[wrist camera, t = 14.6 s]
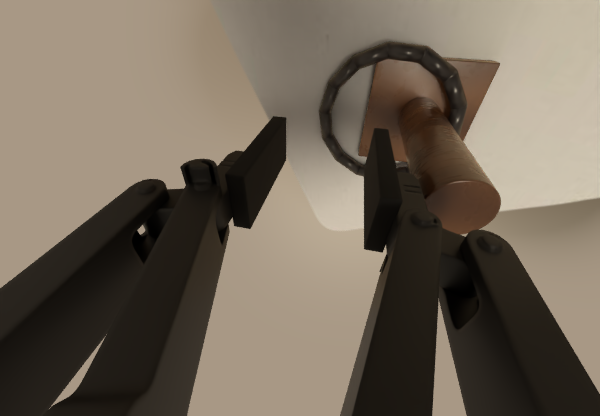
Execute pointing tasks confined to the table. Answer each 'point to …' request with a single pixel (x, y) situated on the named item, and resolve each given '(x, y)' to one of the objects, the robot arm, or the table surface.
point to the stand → (434, 137)
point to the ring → (401, 53)
